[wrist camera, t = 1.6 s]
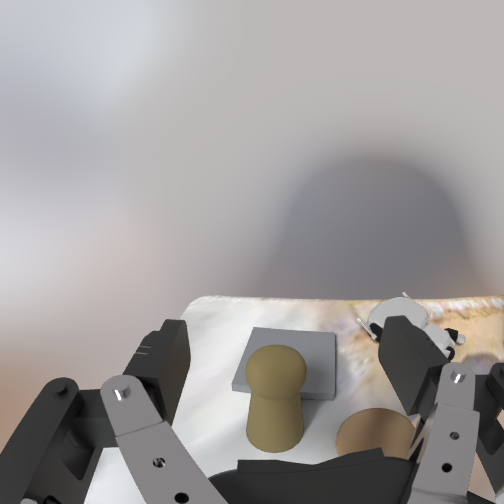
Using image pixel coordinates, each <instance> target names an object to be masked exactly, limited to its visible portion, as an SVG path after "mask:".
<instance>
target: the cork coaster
mask: <svg viewBox="0 0 504 504" xmlns="http://www.w3.org/2000/svg"><path fill="white" fill-rule="evenodd" d="M414 431H415V428H414V426H413V425H412V423H411V422H410V421H409V420H408V419H407V418H406V417H404V416H403V415H401V414H400V413H397V412H395V411H392V410H389V409H383V408H372V409H366V410H362V411H360V412H357V413H355V414H353V415H352V416H350V417H349V418H348V419H347V420H346V421H345V422H344V423H343V424H342V426H341V427H340V429H339V431H338V434H337V438H336V449H337V453H338V455H339V457H340V456H342V455H345V454H348V453H352V452H358V451H364V450H369V449H375V448H379V447H381V448H382V450H383V453H384V456H392V457H398V458H403V459H404V457H405V455H406V452H407V450H408V447H409V445H410V442H411V439H412V436H413V434H414Z"/></svg>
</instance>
